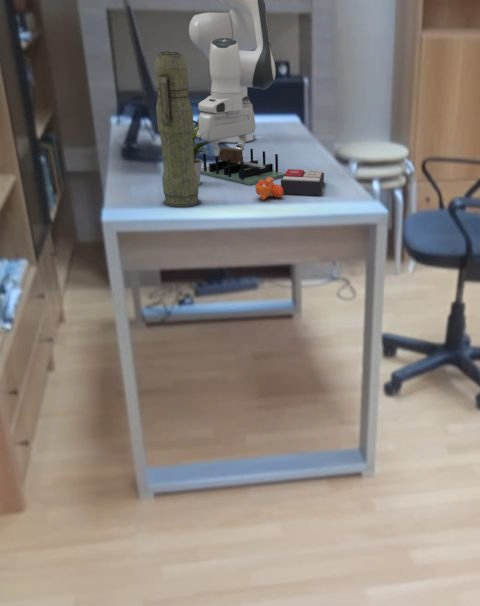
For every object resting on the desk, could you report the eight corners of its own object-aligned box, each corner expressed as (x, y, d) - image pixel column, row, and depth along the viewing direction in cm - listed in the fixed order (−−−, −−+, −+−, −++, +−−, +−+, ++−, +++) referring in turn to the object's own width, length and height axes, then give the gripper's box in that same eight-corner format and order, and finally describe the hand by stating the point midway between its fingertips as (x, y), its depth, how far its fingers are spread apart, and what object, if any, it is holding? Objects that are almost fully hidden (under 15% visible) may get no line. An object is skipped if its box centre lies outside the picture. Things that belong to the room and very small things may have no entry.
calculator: (324, 169, 225) (320, 179, 212) (324, 185, 228) (320, 195, 214) (286, 167, 225) (280, 177, 212) (286, 183, 228) (280, 193, 214)
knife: (218, 159, 234) (217, 147, 232) (223, 158, 236) (223, 145, 234) (260, 169, 226) (259, 156, 224) (265, 167, 228) (265, 154, 226)
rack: (195, 172, 232) (194, 151, 229) (233, 163, 243) (232, 144, 240) (250, 185, 222) (249, 164, 219) (286, 175, 233) (286, 155, 230)
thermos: (204, 197, 208) (194, 51, 190) (192, 209, 198) (181, 56, 180) (171, 195, 209) (158, 49, 190) (158, 207, 199) (143, 54, 180)
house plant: (171, 192, 211) (165, 128, 203) (154, 181, 221) (147, 119, 212) (220, 187, 218) (216, 125, 209) (201, 176, 228) (197, 116, 219)
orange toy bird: (264, 169, 213) (255, 180, 203) (289, 180, 214) (282, 191, 204) (258, 187, 216) (249, 198, 206) (284, 197, 217) (276, 209, 207)
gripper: (243, 97, 233) (245, 146, 241) (193, 104, 219) (197, 156, 226) (259, 100, 230) (260, 149, 238) (209, 107, 216) (212, 159, 223)
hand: (229, 153), depth 232 cm, fingers open, 8 cm apart
